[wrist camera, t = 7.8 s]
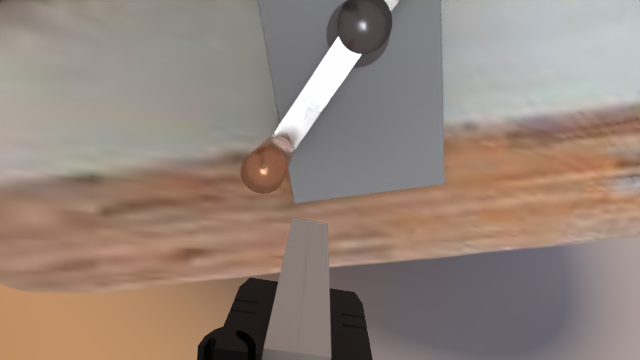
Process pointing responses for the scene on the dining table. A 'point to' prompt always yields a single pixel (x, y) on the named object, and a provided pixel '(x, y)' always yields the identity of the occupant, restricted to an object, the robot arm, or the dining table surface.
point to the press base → (361, 100)
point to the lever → (319, 89)
